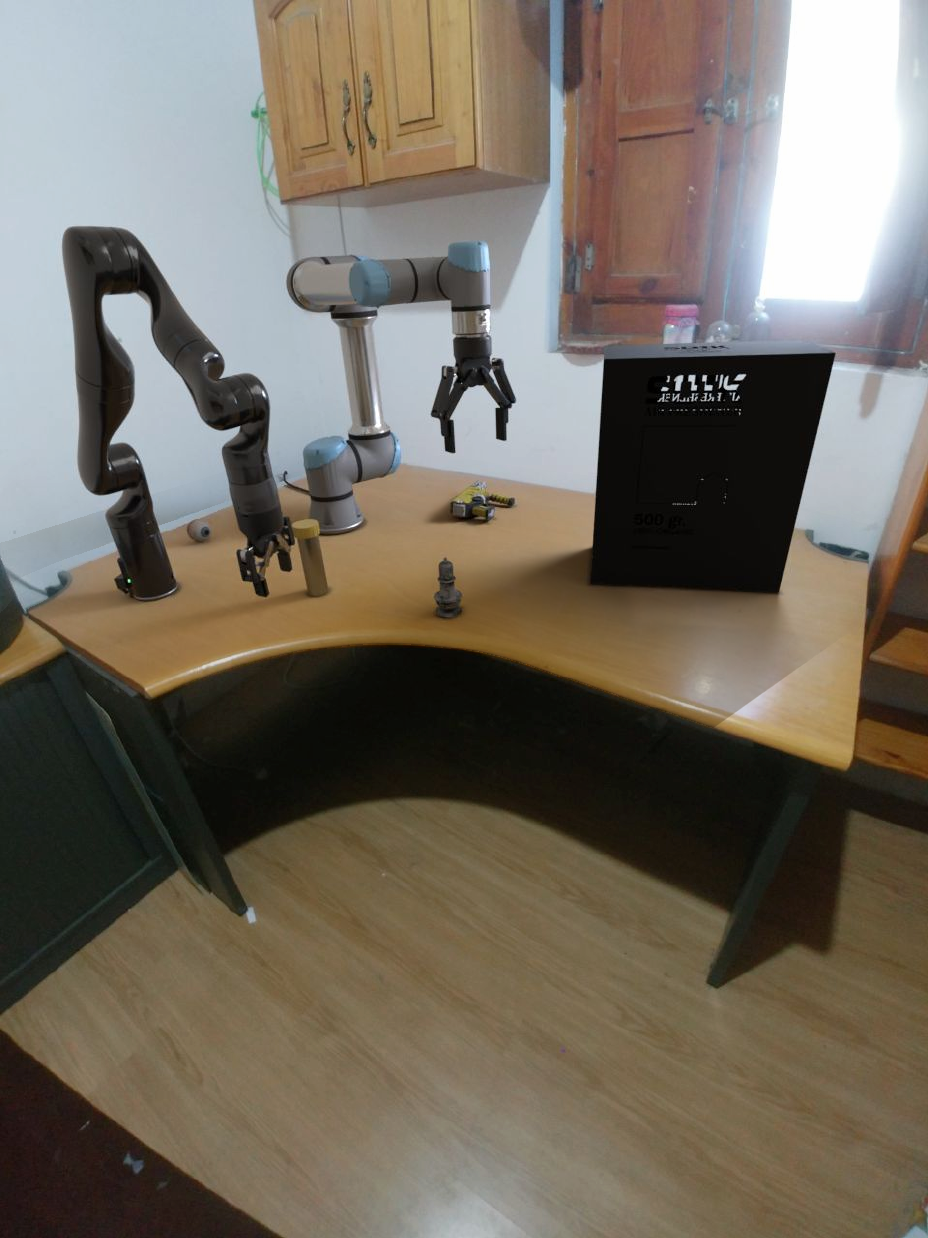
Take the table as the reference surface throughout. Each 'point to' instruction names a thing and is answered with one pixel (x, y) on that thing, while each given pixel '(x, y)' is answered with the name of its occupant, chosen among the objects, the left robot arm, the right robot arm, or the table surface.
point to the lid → (306, 528)
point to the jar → (313, 566)
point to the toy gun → (477, 502)
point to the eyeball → (199, 530)
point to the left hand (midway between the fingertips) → (275, 582)
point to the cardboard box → (704, 462)
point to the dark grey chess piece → (447, 591)
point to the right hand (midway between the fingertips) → (476, 445)
